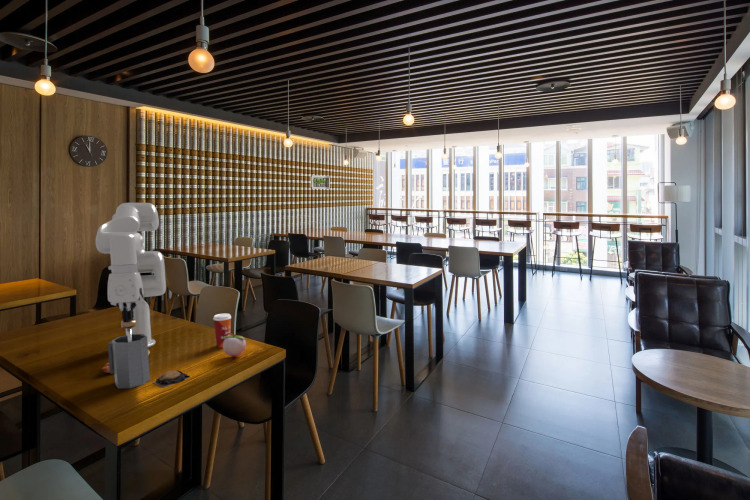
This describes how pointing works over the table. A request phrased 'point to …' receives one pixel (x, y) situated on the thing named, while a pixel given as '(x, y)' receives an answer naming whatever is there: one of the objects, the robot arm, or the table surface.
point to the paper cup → (222, 327)
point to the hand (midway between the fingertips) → (128, 321)
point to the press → (129, 360)
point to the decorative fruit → (234, 345)
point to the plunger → (128, 328)
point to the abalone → (170, 378)
